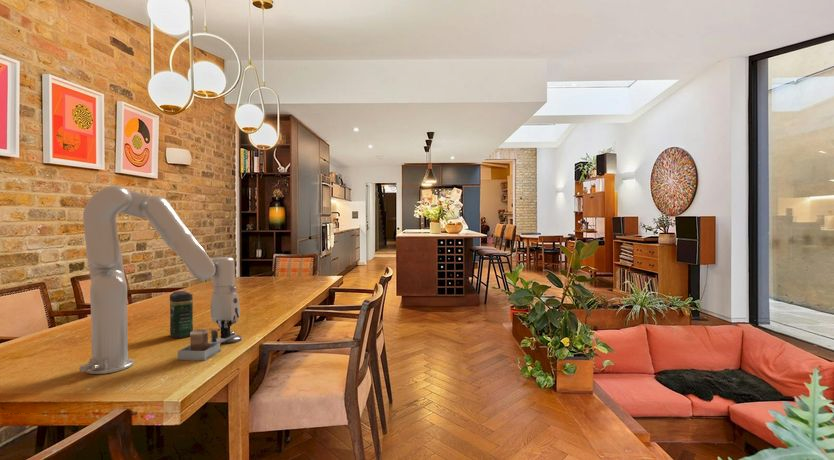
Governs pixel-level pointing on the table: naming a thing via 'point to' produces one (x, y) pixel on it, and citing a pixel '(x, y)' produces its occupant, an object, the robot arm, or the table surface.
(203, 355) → the tray
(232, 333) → the crank
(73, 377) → the table surface
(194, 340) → the block
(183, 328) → the coffee jar
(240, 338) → the hub
